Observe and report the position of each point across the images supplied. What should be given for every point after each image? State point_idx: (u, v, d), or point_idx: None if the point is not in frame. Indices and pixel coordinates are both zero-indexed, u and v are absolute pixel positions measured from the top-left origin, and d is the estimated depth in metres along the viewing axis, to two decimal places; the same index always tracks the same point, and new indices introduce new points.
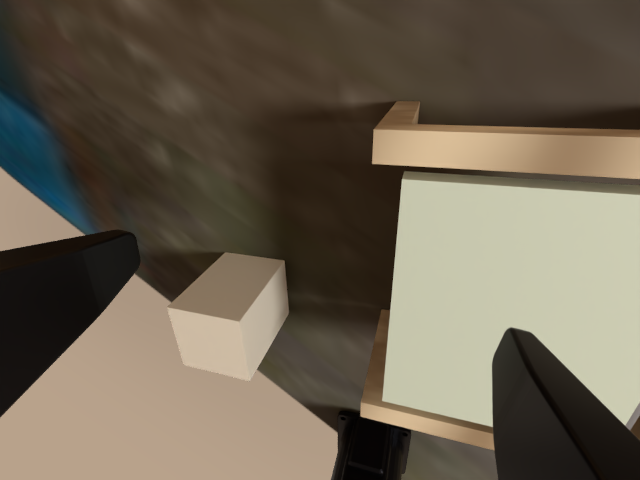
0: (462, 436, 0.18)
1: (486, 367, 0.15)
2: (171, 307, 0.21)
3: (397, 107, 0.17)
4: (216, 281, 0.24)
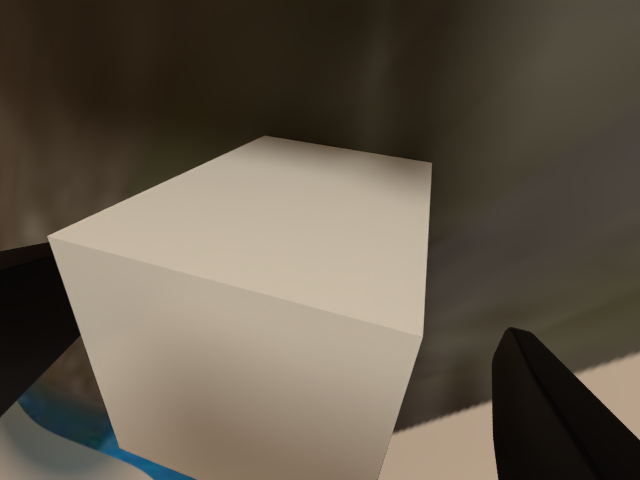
0: None
1: None
2: None
3: None
4: None
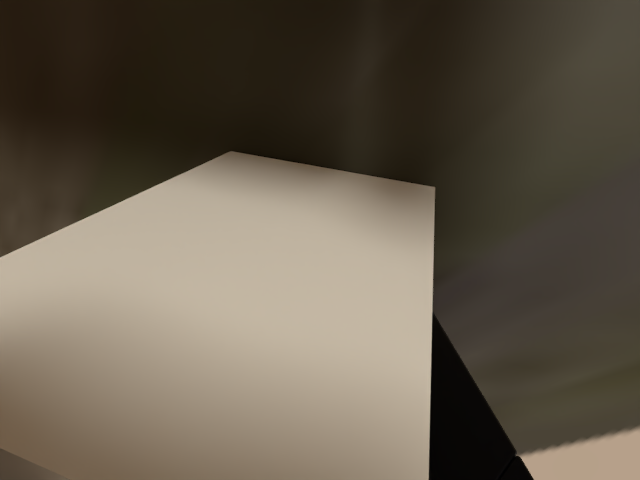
0: None
1: None
2: None
3: None
4: None
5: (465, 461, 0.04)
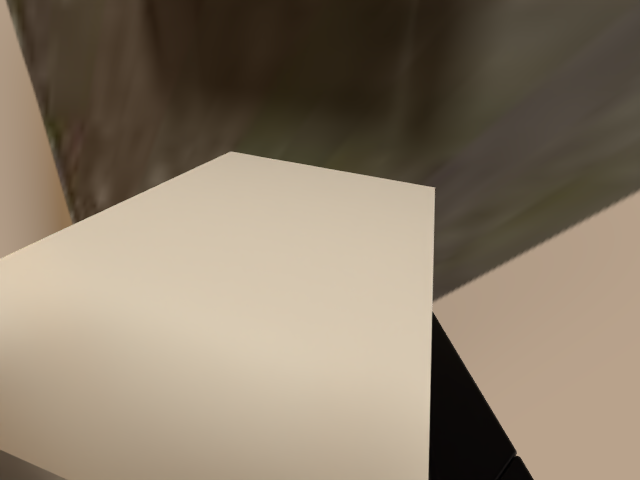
0: None
1: None
2: None
3: None
4: None
5: (465, 461, 0.04)
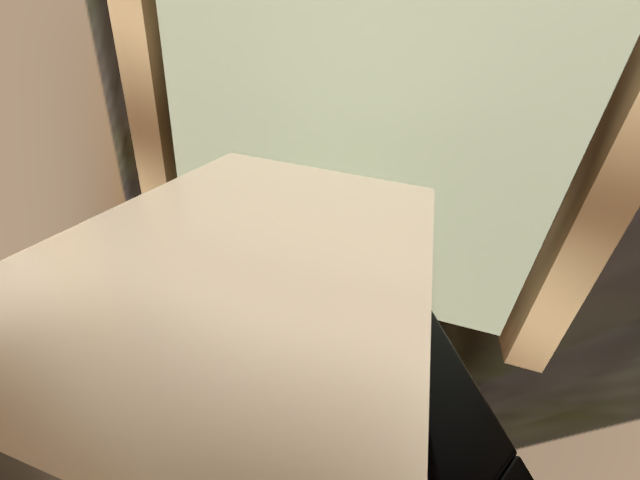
0: (601, 235, 0.09)
1: None
2: None
3: None
4: None
5: (465, 461, 0.04)
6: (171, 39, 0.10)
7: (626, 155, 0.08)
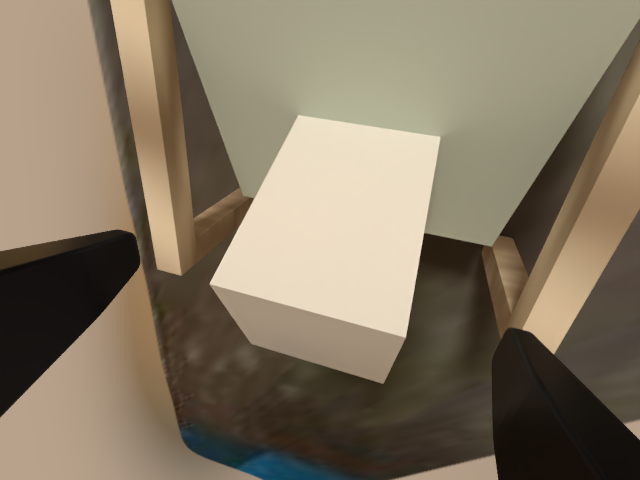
0: (602, 235, 0.09)
1: None
2: None
3: None
4: None
5: None
6: (196, 40, 0.11)
7: (627, 155, 0.08)
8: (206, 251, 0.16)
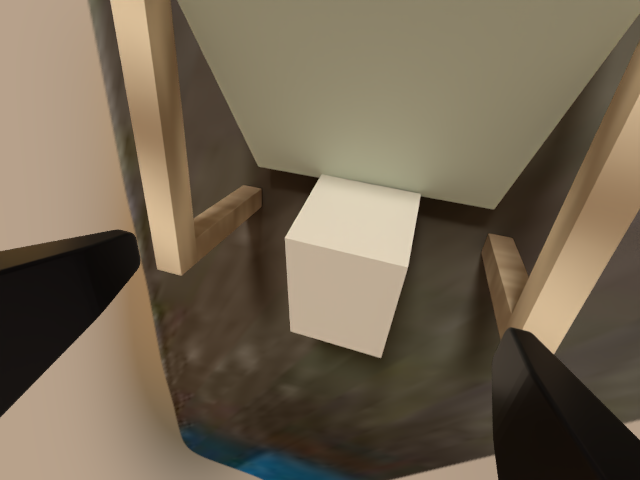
0: (602, 235, 0.09)
1: (427, 137, 0.13)
2: None
3: None
4: None
5: None
6: (203, 34, 0.12)
7: (627, 155, 0.08)
8: (206, 251, 0.16)
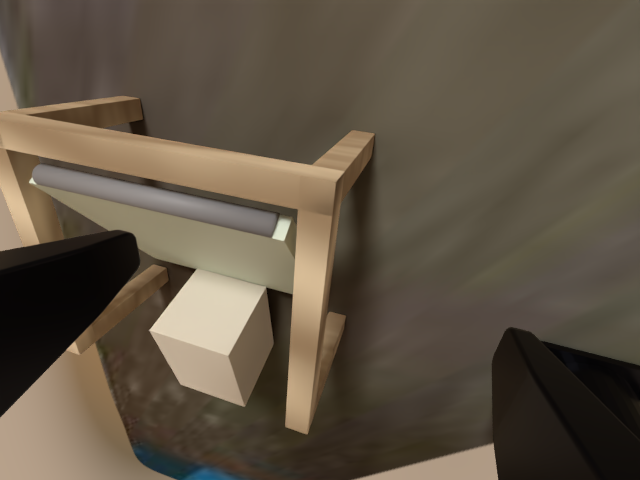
0: (305, 359, 0.15)
1: (241, 266, 0.19)
2: None
3: None
4: None
5: None
6: (75, 208, 0.17)
7: (300, 319, 0.14)
8: (105, 331, 0.22)
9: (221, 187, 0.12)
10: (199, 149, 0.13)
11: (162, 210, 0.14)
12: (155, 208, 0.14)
